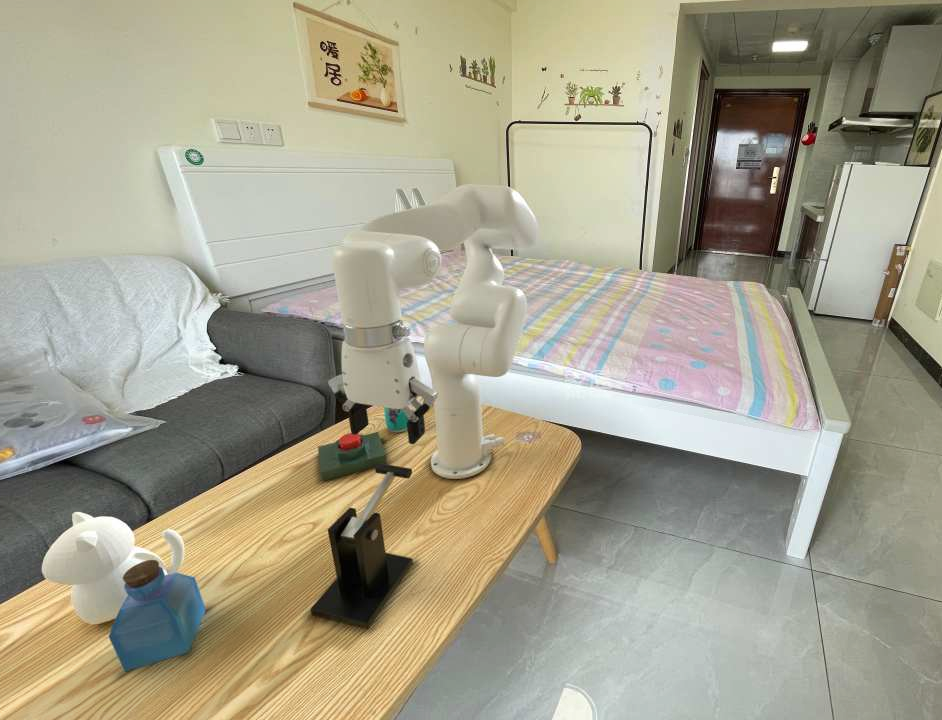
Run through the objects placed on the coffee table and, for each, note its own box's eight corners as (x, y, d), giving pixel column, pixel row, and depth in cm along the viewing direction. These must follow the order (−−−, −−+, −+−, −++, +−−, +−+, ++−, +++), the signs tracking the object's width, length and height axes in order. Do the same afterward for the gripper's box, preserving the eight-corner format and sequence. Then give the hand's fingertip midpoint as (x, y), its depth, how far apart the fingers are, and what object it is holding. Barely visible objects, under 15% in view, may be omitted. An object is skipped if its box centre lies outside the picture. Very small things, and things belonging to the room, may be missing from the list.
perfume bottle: (124, 671, 53) (92, 600, 49) (148, 625, 59) (120, 558, 55) (188, 652, 56) (162, 583, 52) (205, 609, 61) (183, 544, 57)
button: (359, 437, 95) (358, 430, 95) (362, 447, 92) (361, 440, 92) (339, 442, 93) (337, 435, 93) (340, 452, 90) (339, 445, 90)
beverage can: (384, 435, 103) (377, 378, 98) (389, 422, 108) (382, 367, 103) (410, 433, 104) (404, 377, 99) (413, 420, 109) (408, 366, 104)
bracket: (363, 553, 71) (353, 489, 67) (413, 563, 70) (405, 500, 66) (311, 615, 61) (295, 545, 57) (368, 629, 60) (356, 559, 55)
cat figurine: (68, 608, 61) (26, 523, 55) (186, 553, 70) (159, 476, 65) (72, 652, 55) (27, 563, 50) (199, 586, 64) (172, 505, 59)
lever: (383, 468, 71) (378, 459, 70) (413, 473, 70) (409, 465, 69) (336, 541, 62) (329, 533, 61) (370, 548, 61) (364, 540, 60)
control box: (379, 439, 101) (377, 424, 100) (386, 463, 93) (384, 447, 92) (319, 455, 95) (316, 439, 93) (322, 481, 87) (319, 465, 86)
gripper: (444, 329, 63) (451, 429, 69) (339, 316, 66) (355, 413, 72) (415, 348, 56) (426, 457, 62) (299, 333, 59) (320, 439, 65)
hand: (388, 434), depth 67 cm, fingers open, 9 cm apart
